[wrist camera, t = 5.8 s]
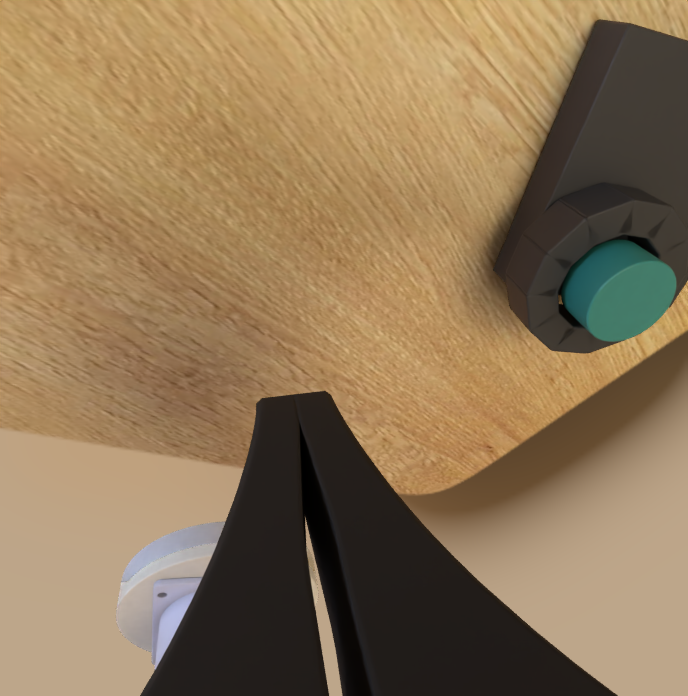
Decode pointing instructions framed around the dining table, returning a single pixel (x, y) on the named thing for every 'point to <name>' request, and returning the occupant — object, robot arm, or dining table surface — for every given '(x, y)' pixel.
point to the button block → (604, 177)
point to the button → (618, 290)
